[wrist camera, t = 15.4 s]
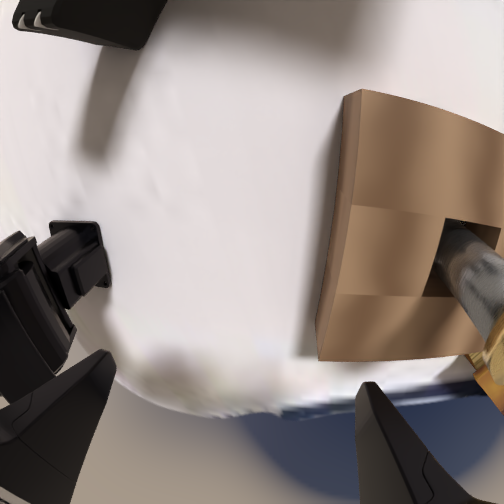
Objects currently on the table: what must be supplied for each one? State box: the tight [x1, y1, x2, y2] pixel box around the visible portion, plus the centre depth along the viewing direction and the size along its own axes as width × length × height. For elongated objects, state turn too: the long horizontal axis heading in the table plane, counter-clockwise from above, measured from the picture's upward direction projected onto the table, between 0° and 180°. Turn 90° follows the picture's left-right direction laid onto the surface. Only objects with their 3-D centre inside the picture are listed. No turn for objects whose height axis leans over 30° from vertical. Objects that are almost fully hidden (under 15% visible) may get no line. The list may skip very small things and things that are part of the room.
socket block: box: [315, 89, 504, 362], centre depth 16 cm, size 18×18×4 cm
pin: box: [432, 218, 504, 385], centre depth 13 cm, size 5×5×13 cm
